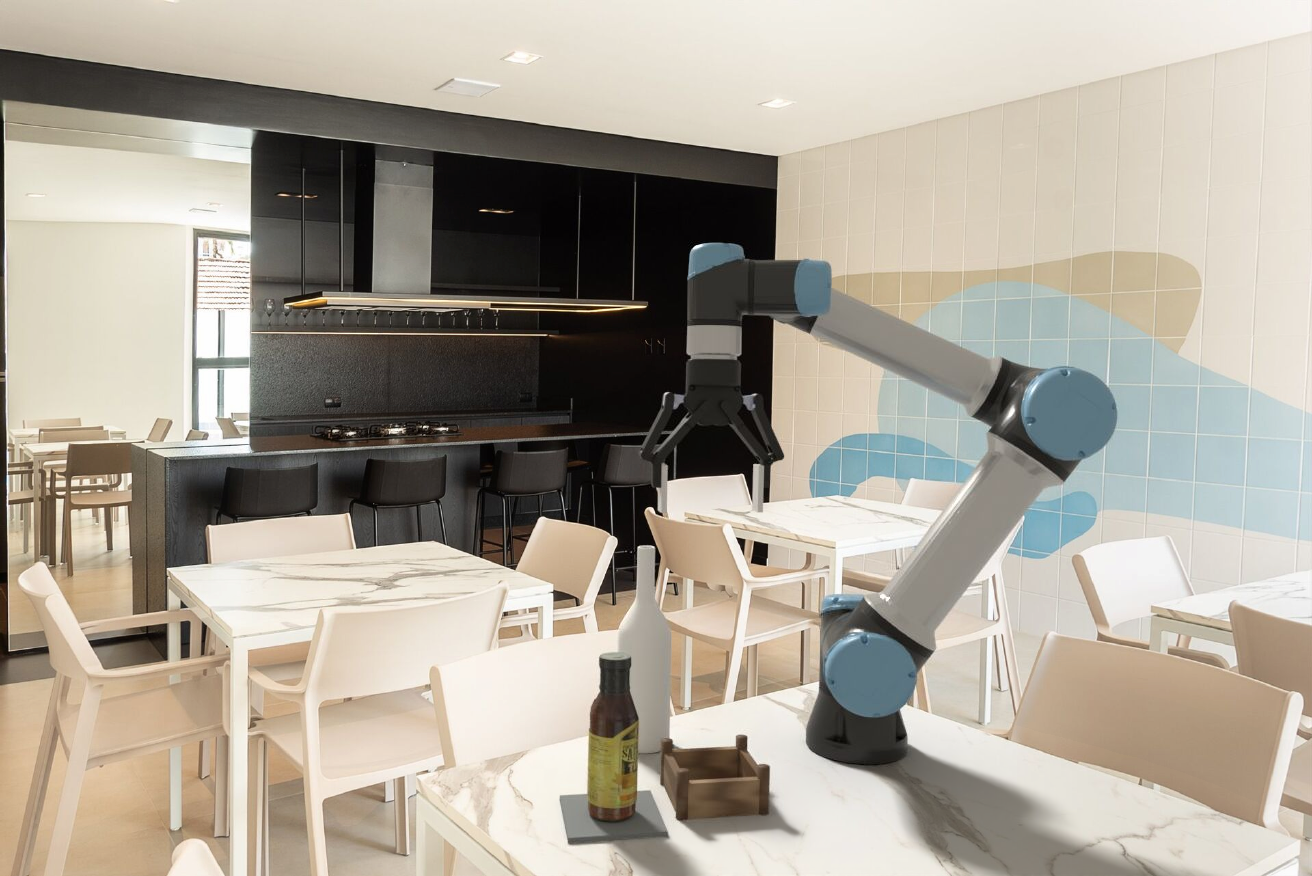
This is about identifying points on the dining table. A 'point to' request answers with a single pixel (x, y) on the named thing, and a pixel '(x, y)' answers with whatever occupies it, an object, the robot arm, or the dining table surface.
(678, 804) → the corner post wooden tray
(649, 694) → the bottle
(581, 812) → the mat
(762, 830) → the dining table surface
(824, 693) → the robot arm
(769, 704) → the dining table surface
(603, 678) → the sauce bottle
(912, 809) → the dining table surface
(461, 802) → the dining table surface
